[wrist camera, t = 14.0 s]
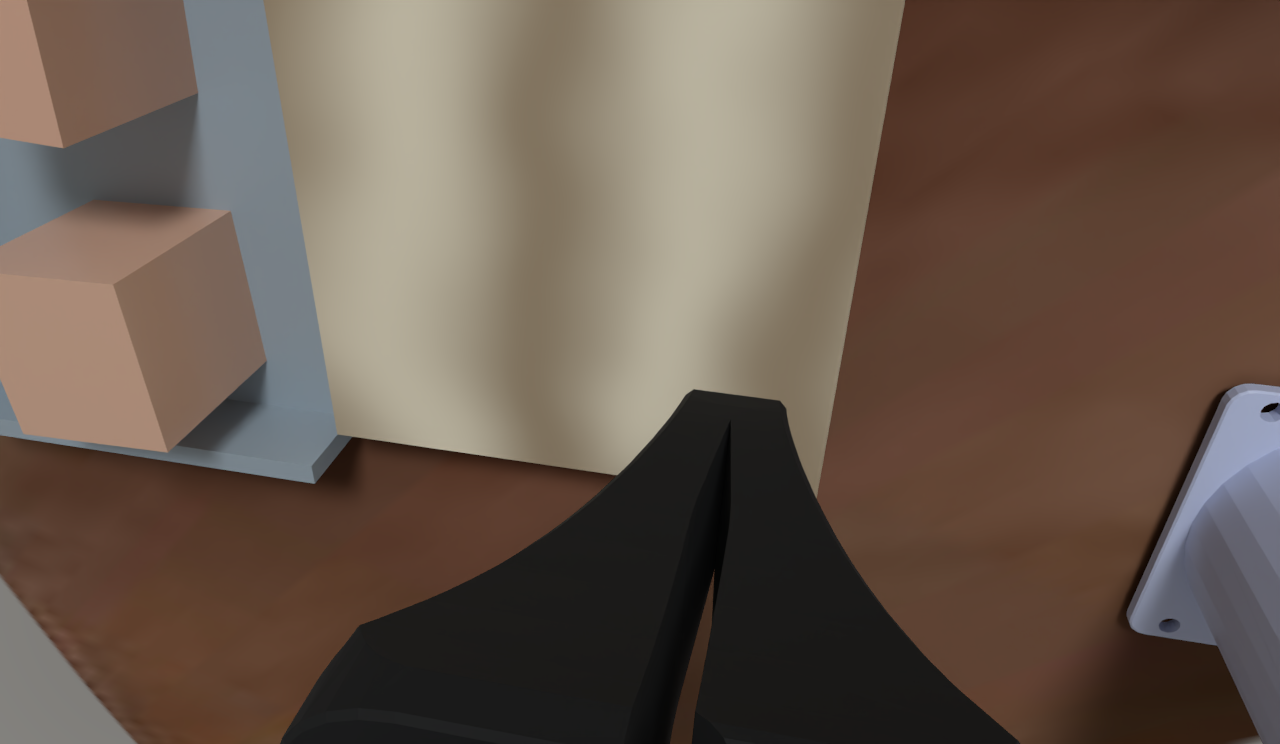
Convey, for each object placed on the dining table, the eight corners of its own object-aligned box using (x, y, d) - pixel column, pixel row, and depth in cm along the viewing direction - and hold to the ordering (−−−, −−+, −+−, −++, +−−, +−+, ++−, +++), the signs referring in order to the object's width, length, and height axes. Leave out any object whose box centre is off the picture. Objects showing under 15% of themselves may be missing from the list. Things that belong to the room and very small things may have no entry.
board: (918, -129, 17) (927, -124, 16) (816, 458, 25) (815, 504, 23) (289, -159, 19) (236, -157, 17) (369, 395, 26) (337, 434, 25)
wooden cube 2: (112, 284, 20) (-47, 269, 20) (167, 452, 22) (23, 434, 22) (230, 210, 23) (93, 199, 24) (266, 360, 26) (140, 346, 26)
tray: (267, -216, 19) (177, -222, 16) (364, 422, 27) (314, 484, 24) (-225, -235, 20) (-377, -243, 18) (9, 371, 29) (-71, 424, 26)
